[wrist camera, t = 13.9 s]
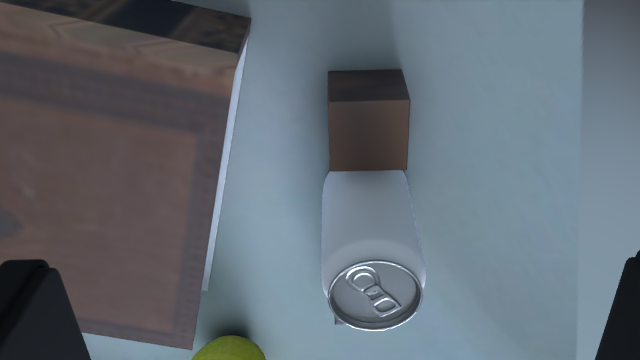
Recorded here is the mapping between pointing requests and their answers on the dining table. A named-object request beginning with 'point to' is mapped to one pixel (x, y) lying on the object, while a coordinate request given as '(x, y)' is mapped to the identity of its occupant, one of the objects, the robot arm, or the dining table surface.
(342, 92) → the block near
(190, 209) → the book
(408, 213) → the can
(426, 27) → the dining table surface
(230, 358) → the fruit
